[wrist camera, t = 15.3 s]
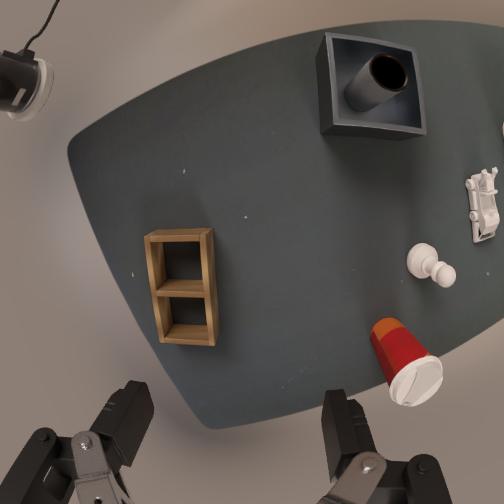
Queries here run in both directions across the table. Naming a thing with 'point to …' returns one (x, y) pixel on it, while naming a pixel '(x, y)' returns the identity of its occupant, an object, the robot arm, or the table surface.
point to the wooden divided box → (183, 287)
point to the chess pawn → (429, 265)
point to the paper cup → (405, 363)
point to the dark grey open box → (383, 115)
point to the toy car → (483, 204)
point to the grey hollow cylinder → (376, 82)
